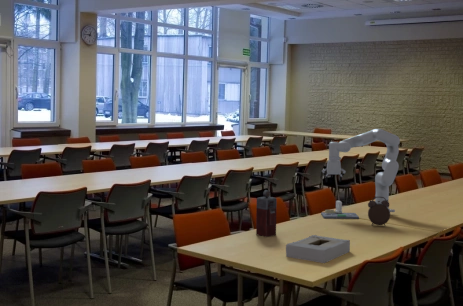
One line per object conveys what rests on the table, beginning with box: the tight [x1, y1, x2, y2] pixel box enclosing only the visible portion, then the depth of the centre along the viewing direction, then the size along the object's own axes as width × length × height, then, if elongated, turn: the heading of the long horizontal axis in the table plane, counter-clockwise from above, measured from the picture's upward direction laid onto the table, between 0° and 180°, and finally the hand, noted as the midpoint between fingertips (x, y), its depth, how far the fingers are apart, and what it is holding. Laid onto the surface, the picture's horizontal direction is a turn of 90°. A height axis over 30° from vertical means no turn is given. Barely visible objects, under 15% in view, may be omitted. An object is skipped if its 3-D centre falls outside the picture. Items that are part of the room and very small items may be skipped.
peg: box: [324, 200, 343, 214], centre depth 453 cm, size 13×6×9 cm, turn 104°
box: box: [285, 234, 351, 264], centre depth 336 cm, size 23×8×32 cm
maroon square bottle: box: [255, 189, 278, 238], centre depth 383 cm, size 9×11×28 cm
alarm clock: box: [367, 196, 391, 227], centre depth 416 cm, size 15×7×20 cm, turn 84°
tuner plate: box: [320, 211, 360, 220], centre depth 450 cm, size 25×16×3 cm, turn 89°
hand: (333, 181), depth 455 cm, fingers open, 9 cm apart
